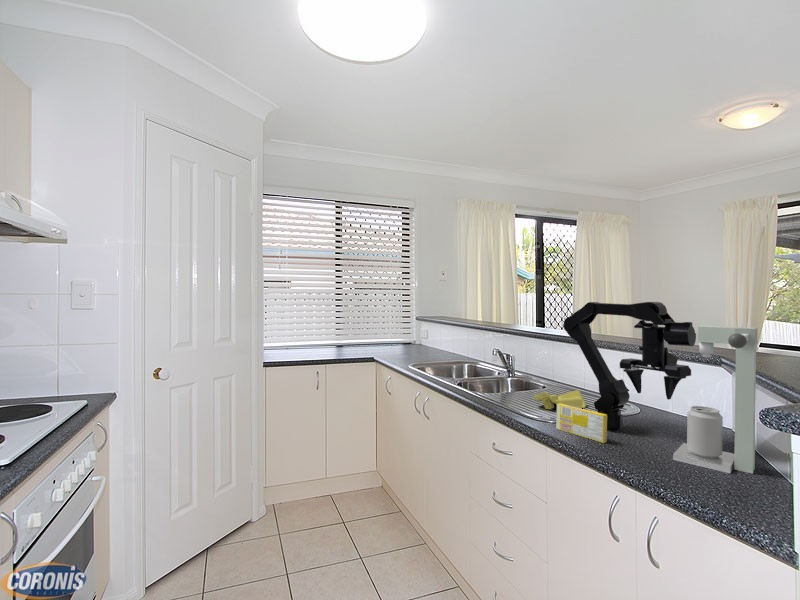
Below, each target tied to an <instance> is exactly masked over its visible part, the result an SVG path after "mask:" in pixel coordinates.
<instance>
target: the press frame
mask: <svg viewBox="0 0 800 600" xmlns="http://www.w3.org/2000/svg"><path fill="white" fill-rule="evenodd" d="M697 342H698V343H699V344H698V345H699V346H698V347H699V348H698V350H699V354H701V357H703V358H711V357H712V355H714V350H715V349H714V347H715V344H724V345H725V344H726V345H727V344H729V346H731V347H732V348H734V349H735V373H734V374H735V377H734V378H735V379H734V380H735V390H734V392H735V393H734V394H735V395H734V397H735V398H734V451H733V452H734V453H733V454H734V467H733V470H735V471H739V472H744V473H748V474H752V475H753V474H754V471H755V464H756V400H757V399H756V398H757V397H756V396H757V395H756V393H757V392H756V390H757V389H756V388H757V387H756V386H757V385H756V383H757V382H756V381H757V345H758V327H743V326H741V327H740V326H720V325H717V326H714V325H698V326H697Z"/></svg>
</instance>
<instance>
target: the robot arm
mask: <svg viewBox="0 0 800 600" xmlns="http://www.w3.org/2000/svg"><path fill="white" fill-rule="evenodd" d="M598 315H606V316H607V315H609V316H626V317H630V318H634V319H636V320H639V321H638V322H637V323H636V324H635V325H634V326H633V328H635V329H641V346H639V347H638V350H639V351H641V359H638V358H621V360H620V362H619V369H623V372H624V373H626V374H627V377H628V378H629V379H630V382H631V383H632V385H633V387H634V388H635V391H636V392H637V394H641V393H642V375H643V373H644V370H651V371H656V372H662V373H665V376H663V381H664V390H665V396H666V400H671V399H672V397H673V395H674V392H675V390H676V387H677V385H678V384H679V383H680V382H681V380H683V379H686V378H687V377H691V376H692V369H691V367H690V366H689V365H684V364H678V359H679V357H678V356H676V355H674V354H672V353H670V352H669V349H668V347H667V346H665V342H666V343H667V344H668V345H669V346H680V347H694V345H695V344H696V340H697V332H696V330H695V327H694V326H693V322H692V321H683V322H677V321H675V320H674V319H673V317H672V316H671V315H670V314H669V313H668V310H667V308H666V305H665V304H664V303H663V302H661V301H660V302H659V301H644V302H638V303H637V302H636V303H628V304H626V303H612V302H611V303H608V302H607V303H605V302H604V303H603V302H597V301H590V302H587V303H586V304H584V305H583V306H582V307H581V308H579V309H578V310H577V311H575V312H574V313H572V314H571V315H570V316H567V317H566V318H565V319H564V321H563V324H562V327H563V330H564V331H565V332H566V333H567V335H568V336H569V337H570V338H571V339H572V340H574V341H575V342H576V343H577V344H578V346H579V349H580V350H581V352H582V354H583V355H584V357H585V359H586V362H587V363H588V365H589V367H590V369H591V370H592V372H593V374H594V376H595V378H596V379H597V382H598V392H599V395H600V397H599V398H598V399H596V400H595V401H594V403H593V405H594V409H595V410H596V412H598V413H602V414H606V415H607V431H610V432H614V433H617V432H619V431H621V430H622V429H623V428H624V426H623V425H624V415H623V414H622V409H624V406H625V405H626V404H628V402H629V400H630V389H629V388H628V387H627V386H626V384H625V383H626V382H625V381H624V379H617V378H615V376H614V375H613V373H612V372H611V369H610V368H609V367H608V365H607V363H606V361H605V359H604V357H603V356H602V354H601V352H600V351H599V349H598V347H597V345H596V343H595V341H594V340H593V337H592V327H591V325H590V324H592V323H593V322H594V321H595V319H596V317H597V316H598Z"/></svg>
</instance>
